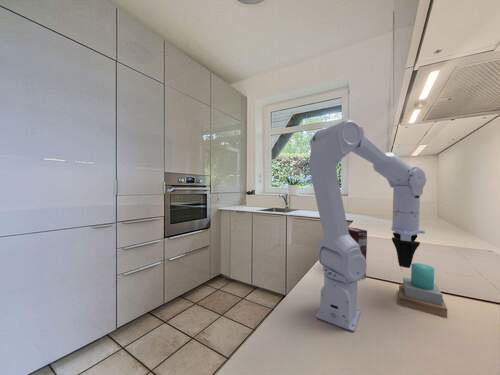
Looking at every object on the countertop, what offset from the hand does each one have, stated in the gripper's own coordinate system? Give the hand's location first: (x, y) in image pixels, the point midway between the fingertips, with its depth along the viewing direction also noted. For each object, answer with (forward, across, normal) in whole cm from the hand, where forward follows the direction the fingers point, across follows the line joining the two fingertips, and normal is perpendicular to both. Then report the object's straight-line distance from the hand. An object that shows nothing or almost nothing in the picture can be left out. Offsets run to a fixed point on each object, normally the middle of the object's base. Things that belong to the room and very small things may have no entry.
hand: (404, 262), depth 56 cm
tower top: (+8, +1, -4) cm, 9 cm away
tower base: (+10, +1, -4) cm, 11 cm away
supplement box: (+10, +9, +14) cm, 20 cm away
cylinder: (+5, +1, -4) cm, 7 cm away
